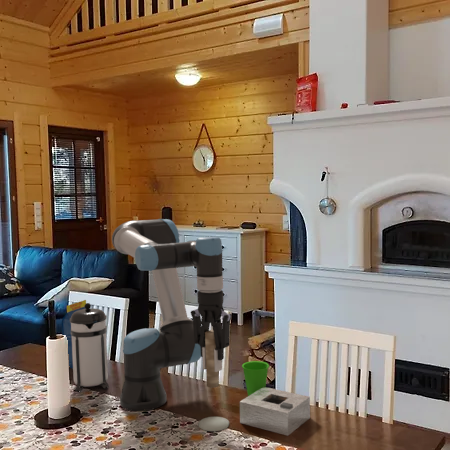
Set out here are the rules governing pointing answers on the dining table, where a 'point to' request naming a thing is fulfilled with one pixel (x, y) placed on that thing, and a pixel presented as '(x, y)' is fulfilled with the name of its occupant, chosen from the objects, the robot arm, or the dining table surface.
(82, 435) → the dining table surface
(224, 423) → the pad
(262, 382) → the cup
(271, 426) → the grey block with hole
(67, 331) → the blue food package
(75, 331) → the coffee press
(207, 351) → the dowel
